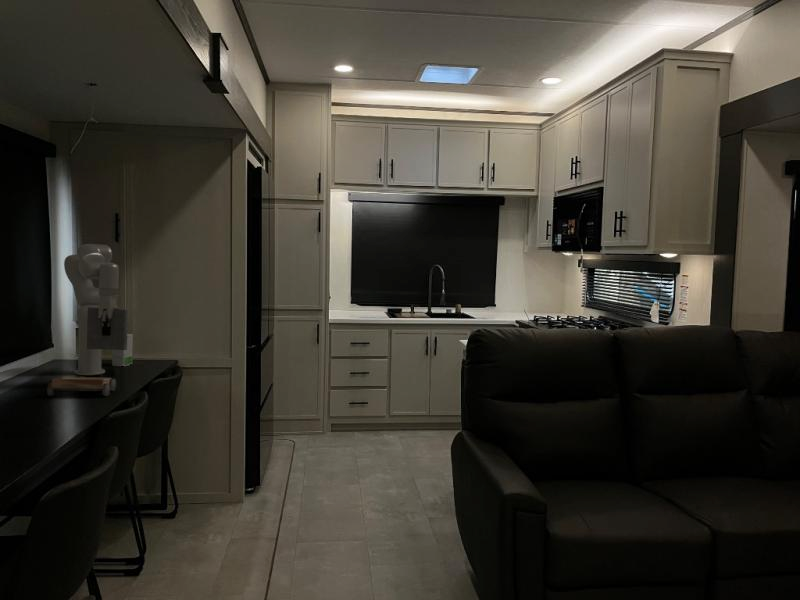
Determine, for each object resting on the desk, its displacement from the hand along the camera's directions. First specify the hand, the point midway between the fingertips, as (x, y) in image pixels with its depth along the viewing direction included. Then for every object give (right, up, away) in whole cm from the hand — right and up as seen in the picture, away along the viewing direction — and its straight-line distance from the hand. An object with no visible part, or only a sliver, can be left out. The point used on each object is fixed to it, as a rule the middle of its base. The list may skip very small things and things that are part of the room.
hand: (107, 334), depth 256 cm
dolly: (-1, -23, -18) cm, 29 cm away
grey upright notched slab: (0, -6, +1) cm, 7 cm away
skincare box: (-14, -18, +42) cm, 48 cm away
